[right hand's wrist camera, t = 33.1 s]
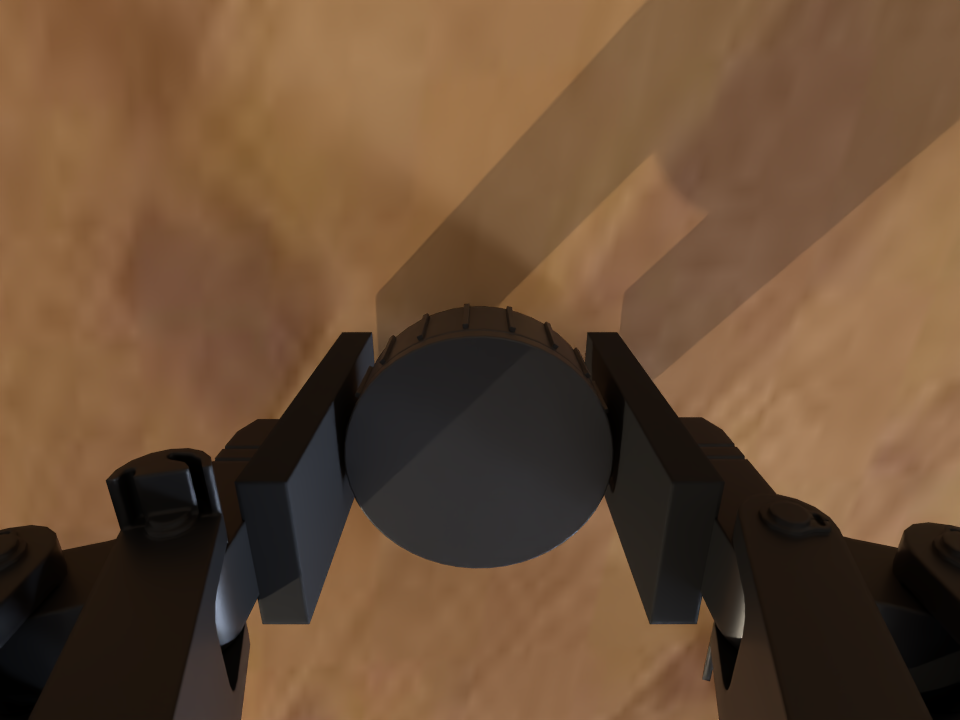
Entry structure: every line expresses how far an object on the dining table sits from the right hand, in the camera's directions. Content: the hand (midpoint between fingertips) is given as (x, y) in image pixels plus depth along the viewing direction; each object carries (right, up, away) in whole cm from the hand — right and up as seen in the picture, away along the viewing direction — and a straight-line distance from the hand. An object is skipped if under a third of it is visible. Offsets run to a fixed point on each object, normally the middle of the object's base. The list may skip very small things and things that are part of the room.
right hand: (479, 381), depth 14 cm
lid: (0, -1, -3) cm, 4 cm away
